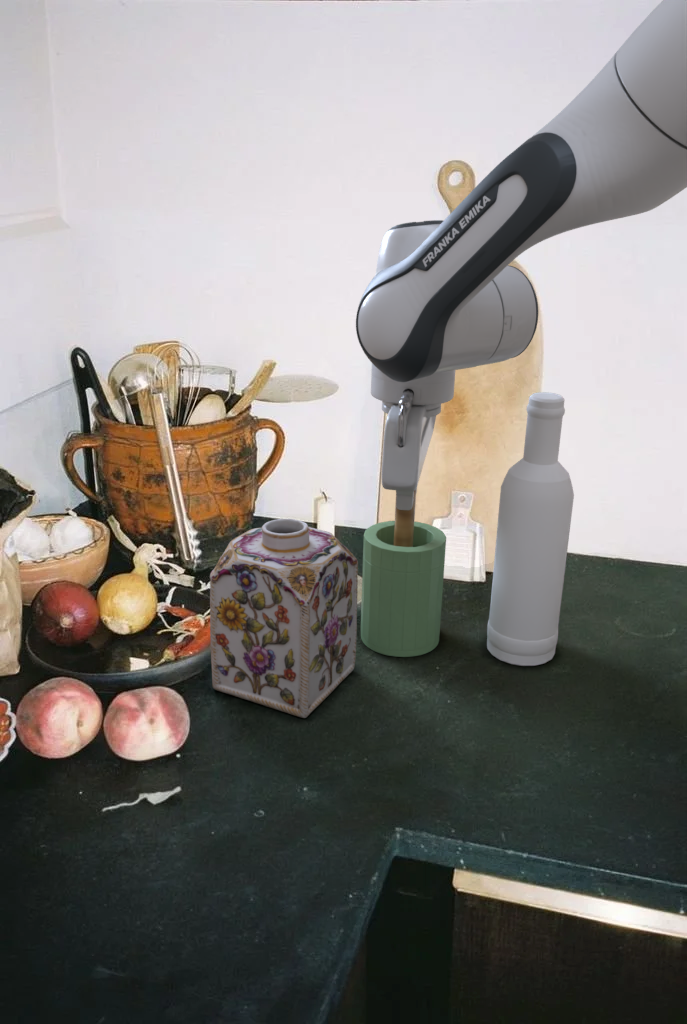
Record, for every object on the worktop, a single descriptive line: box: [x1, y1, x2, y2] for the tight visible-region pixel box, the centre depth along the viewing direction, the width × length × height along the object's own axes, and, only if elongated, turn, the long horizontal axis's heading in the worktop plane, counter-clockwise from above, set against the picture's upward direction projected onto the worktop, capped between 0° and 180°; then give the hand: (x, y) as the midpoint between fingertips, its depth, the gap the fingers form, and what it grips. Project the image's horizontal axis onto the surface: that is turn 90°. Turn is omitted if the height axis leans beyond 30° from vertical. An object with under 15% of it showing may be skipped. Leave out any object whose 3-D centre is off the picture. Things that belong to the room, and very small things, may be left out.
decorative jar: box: [209, 518, 359, 719], centre depth 97 cm, size 12×12×18 cm
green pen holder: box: [360, 520, 447, 658], centre depth 108 cm, size 9×9×13 cm
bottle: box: [486, 391, 575, 667], centre depth 103 cm, size 8×8×30 cm
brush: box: [394, 490, 417, 547], centre depth 105 cm, size 4×4×18 cm
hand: (406, 502), depth 104 cm, fingers closed on brush, 2 cm apart
